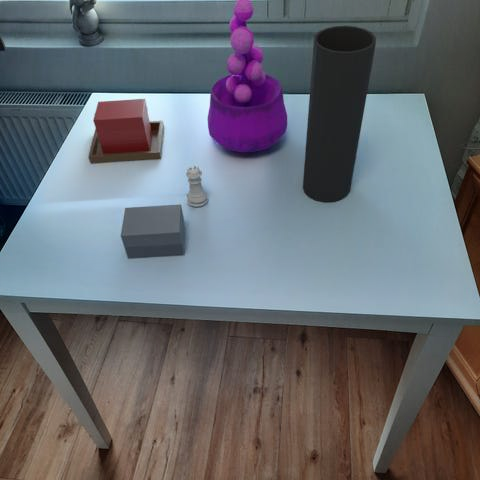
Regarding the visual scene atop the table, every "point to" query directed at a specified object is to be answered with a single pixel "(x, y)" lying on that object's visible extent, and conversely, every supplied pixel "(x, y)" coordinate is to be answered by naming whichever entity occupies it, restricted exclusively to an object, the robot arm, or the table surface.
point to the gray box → (153, 231)
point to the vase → (336, 109)
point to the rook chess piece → (196, 188)
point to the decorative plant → (246, 94)
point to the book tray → (153, 154)
